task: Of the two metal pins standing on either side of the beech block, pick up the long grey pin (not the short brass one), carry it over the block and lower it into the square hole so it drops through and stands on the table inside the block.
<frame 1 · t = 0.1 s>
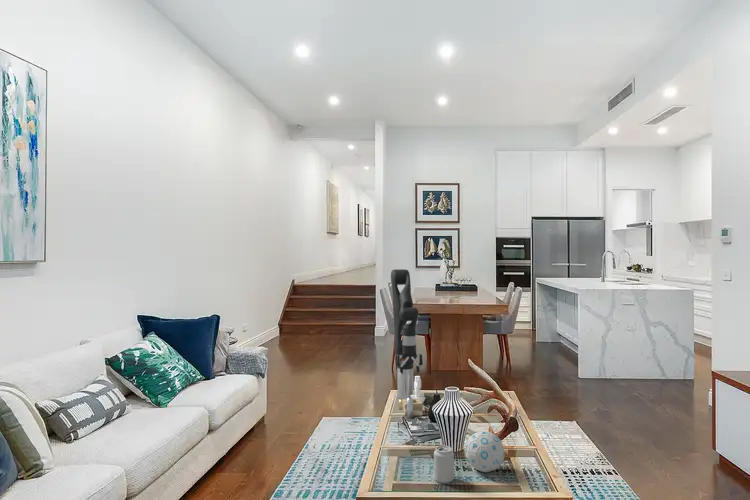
hand: (409, 373, 287), 17 cm above the table, tool pointing down, fingers open, 8 cm apart
short pin: (401, 408, 280), on the table
puzzle ball: (485, 470, 205), on the table
hole block: (412, 412, 273), on the table
can: (443, 480, 197), on the table
figurine: (417, 403, 290), on the table
long pin: (409, 417, 266), on the table
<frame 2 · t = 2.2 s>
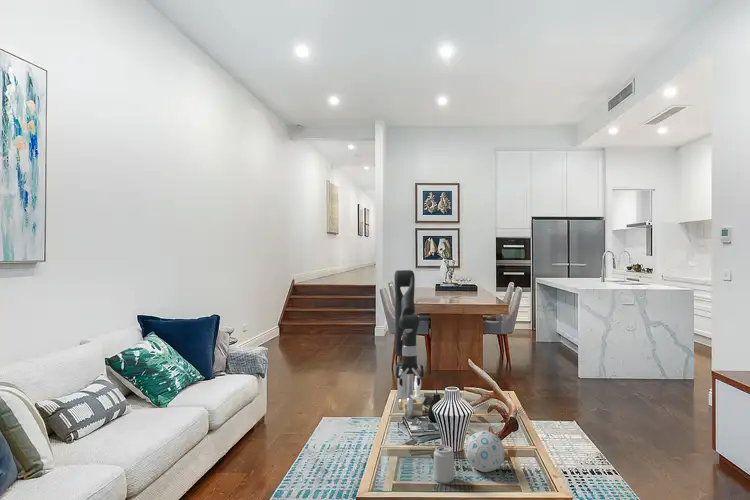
hand: (409, 385, 266), 16 cm above the table, tool pointing down, fingers open, 8 cm apart
nothing on the table moved.
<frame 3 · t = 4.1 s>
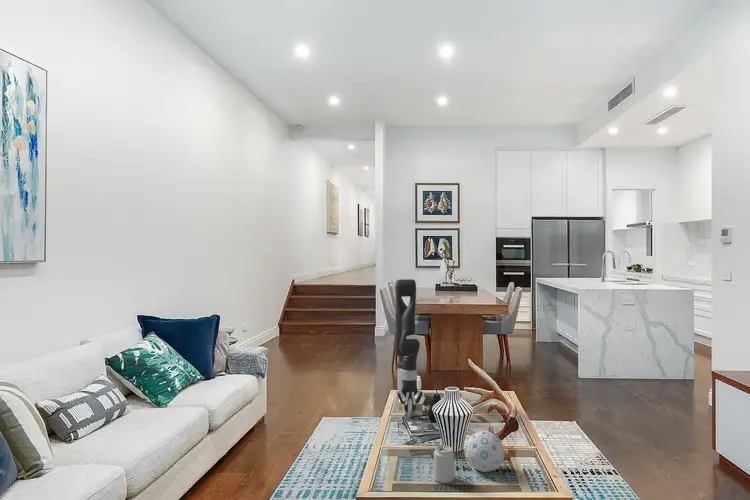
hand: (409, 411, 266), 3 cm above the table, tool pointing down, fingers closed on long pin, 3 cm apart
long pin: (409, 417, 266), on the table, touching gripper
everything else where it was.
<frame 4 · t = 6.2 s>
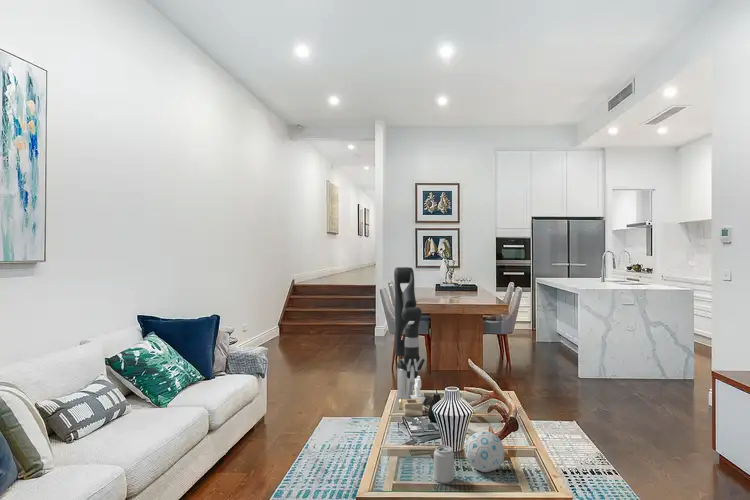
hand: (412, 377, 273), 18 cm above the table, tool pointing down, fingers closed on long pin, 3 cm apart
long pin: (412, 383, 273), point 15 cm above the table, touching gripper
everything else where it was.
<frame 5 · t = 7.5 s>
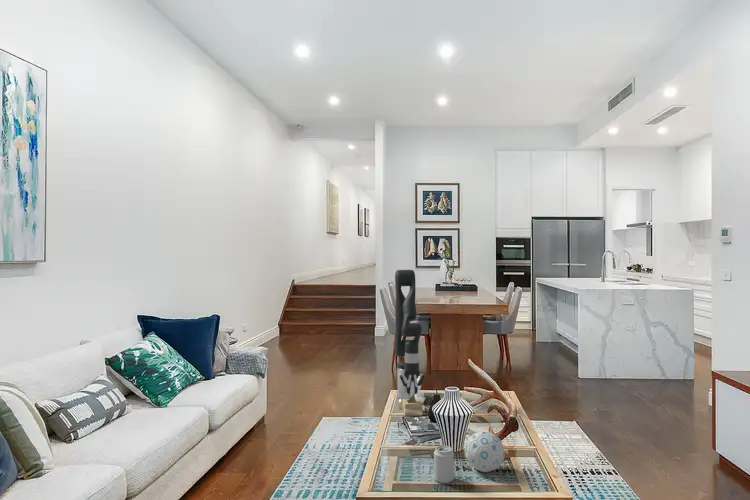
hand: (412, 393, 273), 10 cm above the table, tool pointing down, fingers closed on long pin, 3 cm apart
long pin: (412, 399, 273), point 7 cm above the table, touching gripper
everything else where it was.
when the fingers open (7 cm above the table, at t = 8.5 s): long pin drops 4 cm, resting in hole block.
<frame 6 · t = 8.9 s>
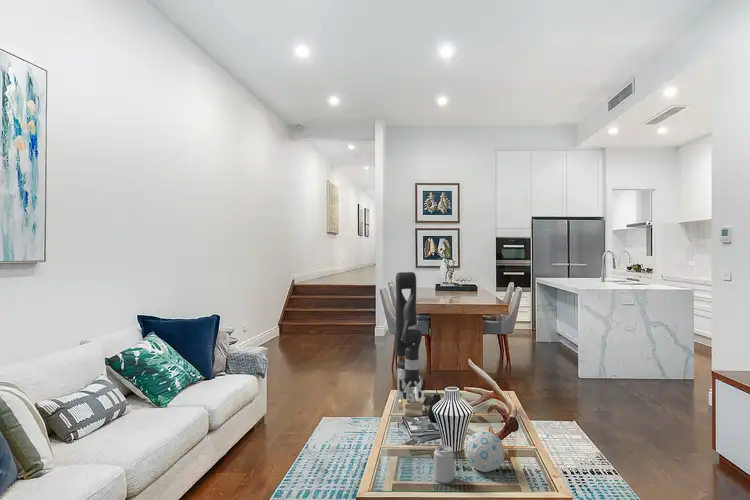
hand: (412, 398, 273), 7 cm above the table, tool pointing down, fingers open, 7 cm apart
long pin: (412, 412, 273), resting in hole block
everything else where it was.
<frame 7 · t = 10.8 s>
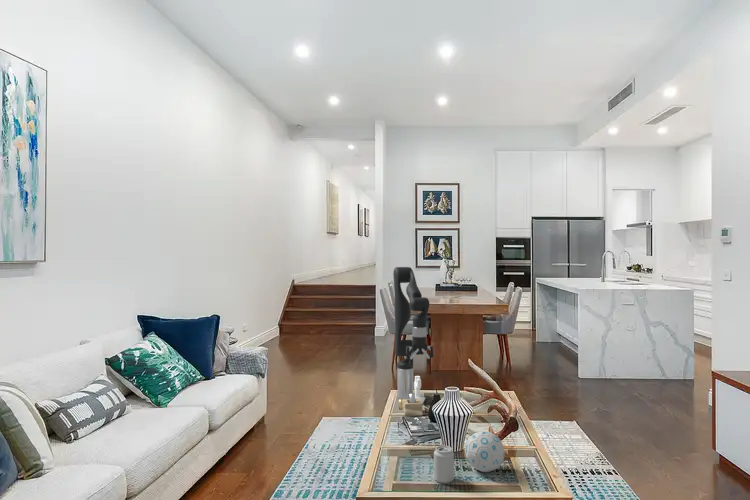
hand: (419, 365, 275), 24 cm above the table, tool pointing down, fingers open, 8 cm apart
nothing on the table moved.
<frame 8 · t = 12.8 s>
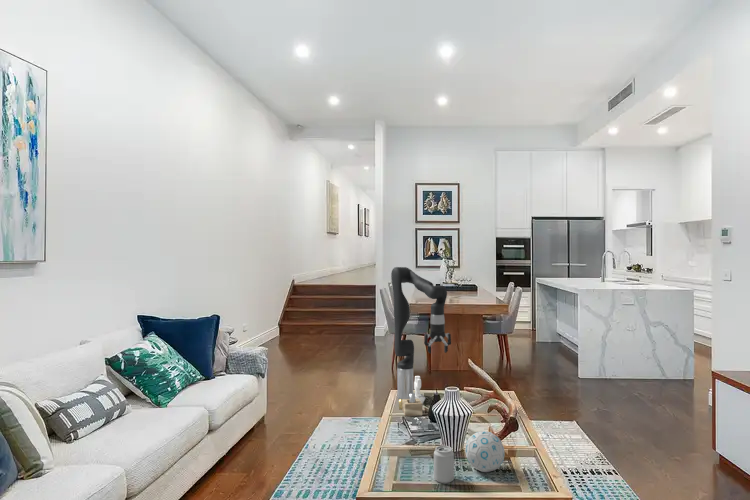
hand: (437, 352, 280), 30 cm above the table, tool pointing down, fingers open, 8 cm apart
nothing on the table moved.
at the end: long pin 0.1 cm off-centre on the hole block, point 0.0 cm above the hole block's base; long pin tilted 0°; short pin moved 0.0 cm from its start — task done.
